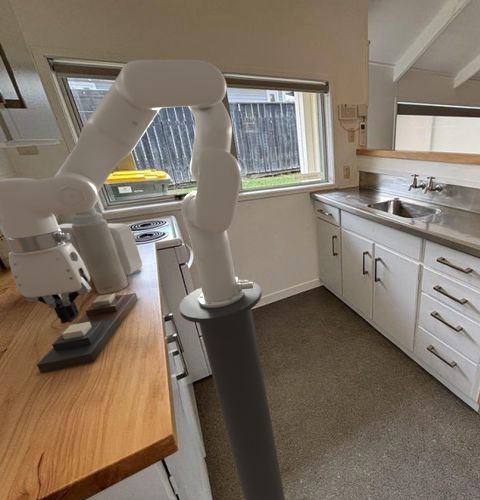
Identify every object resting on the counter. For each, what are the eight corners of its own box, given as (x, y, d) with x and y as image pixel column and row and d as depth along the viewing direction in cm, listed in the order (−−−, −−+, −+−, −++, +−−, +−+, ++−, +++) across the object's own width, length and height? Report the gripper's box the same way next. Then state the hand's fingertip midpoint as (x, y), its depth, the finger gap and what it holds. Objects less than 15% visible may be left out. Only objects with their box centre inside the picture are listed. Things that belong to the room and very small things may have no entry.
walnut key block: (137, 299, 86) (133, 287, 84) (119, 325, 73) (114, 312, 72) (102, 305, 83) (97, 293, 82) (76, 333, 71) (70, 319, 69)
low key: (116, 299, 79) (114, 293, 78) (111, 305, 76) (108, 299, 75) (101, 301, 78) (98, 296, 77) (94, 308, 75) (92, 302, 74)
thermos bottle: (91, 295, 89) (56, 207, 79) (107, 283, 96) (76, 202, 86) (119, 292, 90) (88, 205, 80) (132, 281, 98) (105, 200, 88)
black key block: (119, 325, 73) (114, 312, 72) (93, 362, 61) (86, 347, 59) (76, 333, 71) (70, 319, 69) (40, 373, 58) (32, 357, 57)
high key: (92, 327, 67) (89, 321, 66) (84, 336, 63) (81, 330, 63) (73, 331, 66) (70, 324, 65) (64, 340, 62) (61, 334, 62)
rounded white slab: (55, 277, 102) (33, 229, 96) (76, 268, 109) (57, 223, 103) (127, 278, 100) (111, 229, 93) (144, 269, 107) (129, 223, 100)
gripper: (91, 232, 62) (117, 304, 68) (2, 240, 58) (39, 317, 64) (73, 242, 55) (103, 321, 62) (-30, 253, 51) (14, 337, 57)
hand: (70, 319), depth 63 cm, fingers closed
